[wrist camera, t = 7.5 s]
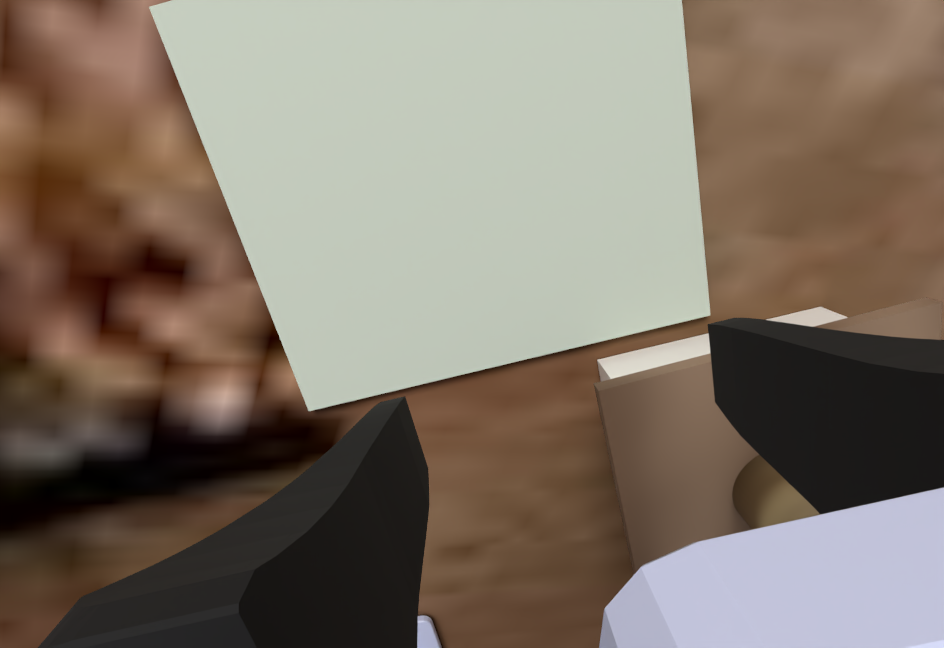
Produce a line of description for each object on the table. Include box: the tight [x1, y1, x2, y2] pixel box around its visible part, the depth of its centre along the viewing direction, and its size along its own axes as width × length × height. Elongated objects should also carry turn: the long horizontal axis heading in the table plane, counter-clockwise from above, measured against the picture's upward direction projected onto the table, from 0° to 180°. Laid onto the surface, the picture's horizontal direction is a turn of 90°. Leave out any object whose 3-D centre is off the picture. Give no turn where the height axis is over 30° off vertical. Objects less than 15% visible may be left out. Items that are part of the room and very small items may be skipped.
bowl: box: [597, 307, 848, 381], centre depth 21 cm, size 10×10×4 cm
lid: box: [594, 297, 942, 574], centre depth 18 cm, size 12×12×4 cm
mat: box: [149, 0, 710, 411], centre depth 19 cm, size 18×16×1 cm
